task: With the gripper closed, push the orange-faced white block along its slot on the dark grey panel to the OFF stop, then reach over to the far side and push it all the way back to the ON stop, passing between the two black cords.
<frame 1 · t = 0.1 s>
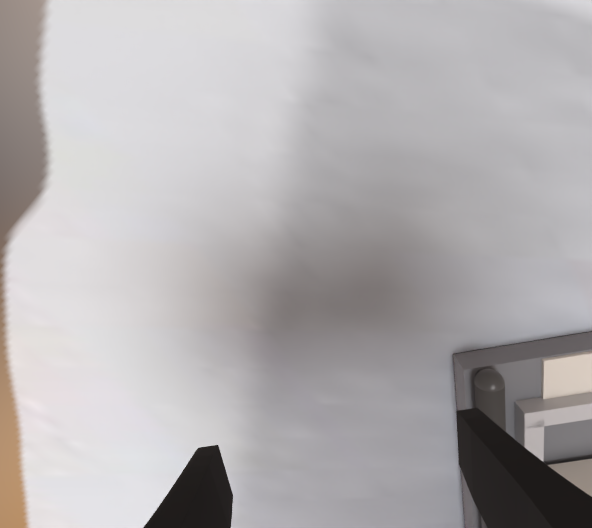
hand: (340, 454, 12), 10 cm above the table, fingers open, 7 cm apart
panel: (566, 473, 26), on the table
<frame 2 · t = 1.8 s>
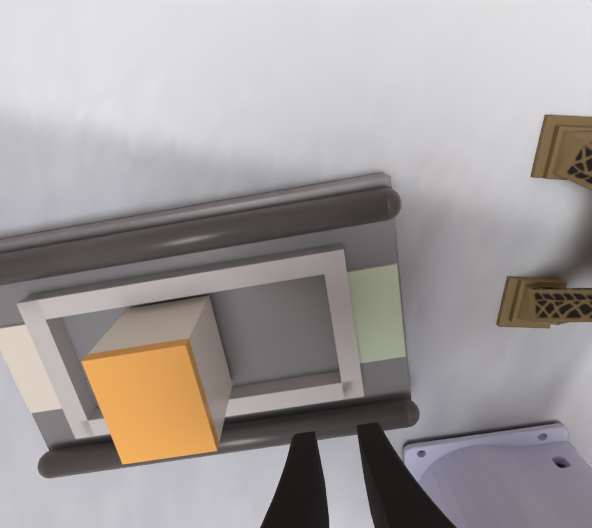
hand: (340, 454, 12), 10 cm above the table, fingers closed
orange-faced white block: (168, 374, 18), point 4 cm above the table, slide at 5.0 cm
panel: (208, 327, 22), on the table
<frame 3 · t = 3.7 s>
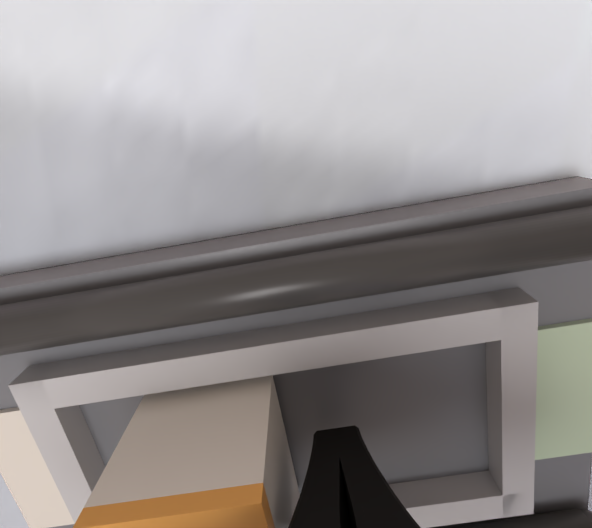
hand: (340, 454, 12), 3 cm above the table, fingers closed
orange-faced white block: (214, 508, 11), point 4 cm above the table, slide at 6.1 cm, touching gripper
panel: (289, 401, 15), on the table
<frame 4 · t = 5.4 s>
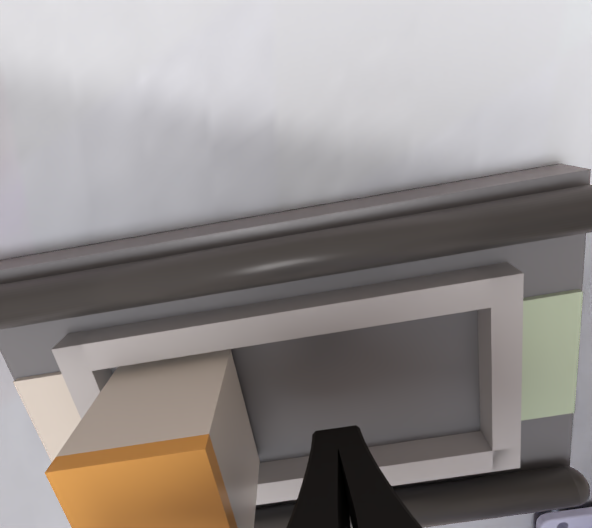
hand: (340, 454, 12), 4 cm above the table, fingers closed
orange-faced white block: (176, 465, 13), point 4 cm above the table, slide at 8.0 cm
panel: (300, 370, 17), on the table
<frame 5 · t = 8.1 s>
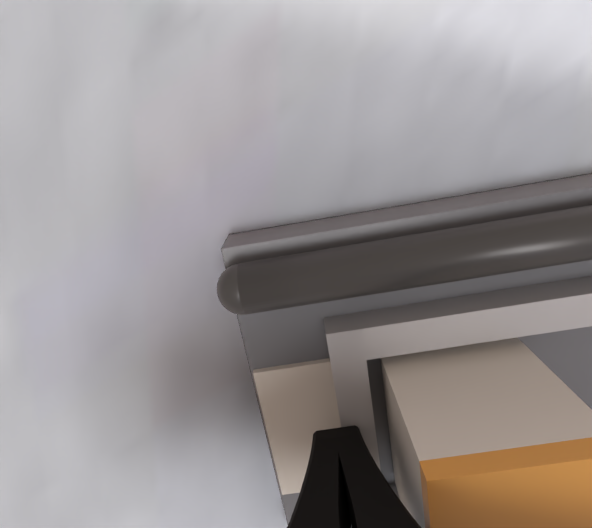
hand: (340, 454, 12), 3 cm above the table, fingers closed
orange-faced white block: (481, 471, 11), point 4 cm above the table, slide at 8.0 cm, touching gripper
panel: (546, 363, 15), on the table
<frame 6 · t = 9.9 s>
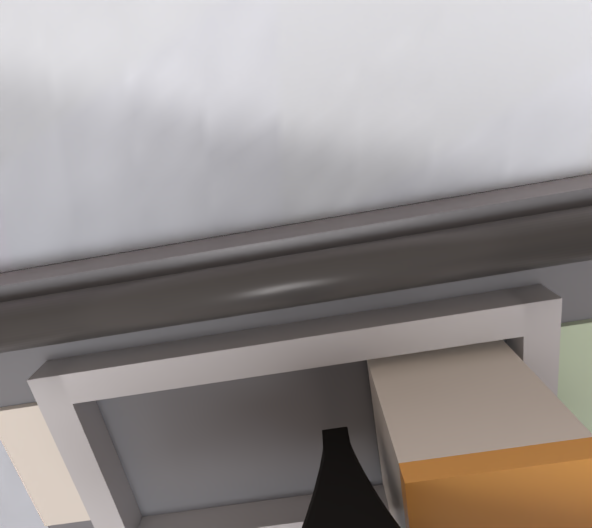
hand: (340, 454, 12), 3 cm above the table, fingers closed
orange-faced white block: (465, 473, 11), point 4 cm above the table, slide at -0.2 cm, touching gripper
panel: (305, 398, 15), on the table
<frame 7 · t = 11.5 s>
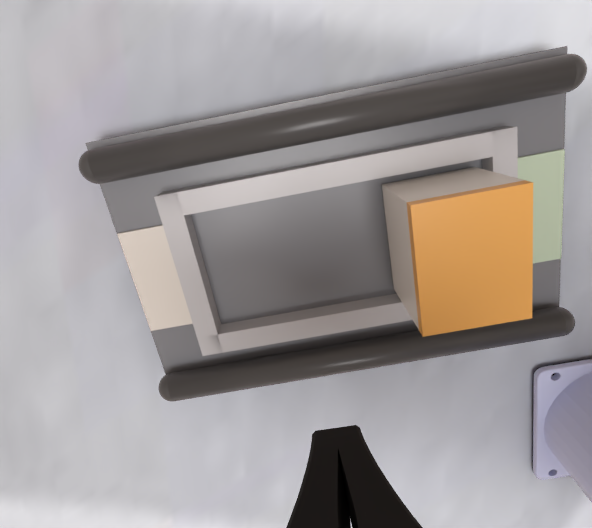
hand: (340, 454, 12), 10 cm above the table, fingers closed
orange-faced white block: (450, 245, 16), point 4 cm above the table, slide at 0.0 cm
panel: (339, 236, 20), on the table
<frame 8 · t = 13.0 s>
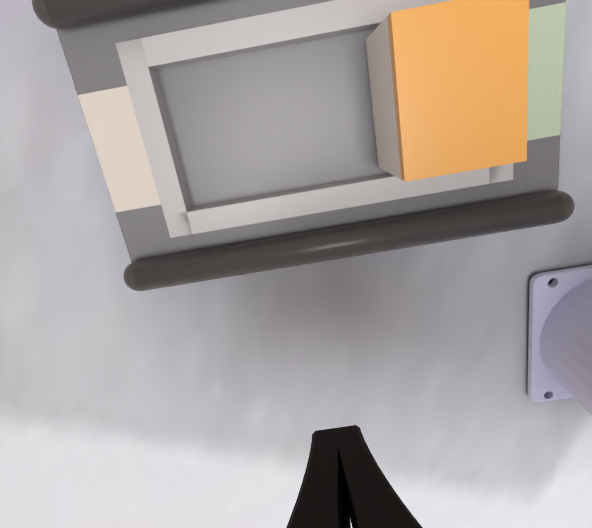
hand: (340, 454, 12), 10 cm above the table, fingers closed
orange-faced white block: (438, 94, 15), point 4 cm above the table, slide at 0.0 cm
panel: (321, 115, 19), on the table
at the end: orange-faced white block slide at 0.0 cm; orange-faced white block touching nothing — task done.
